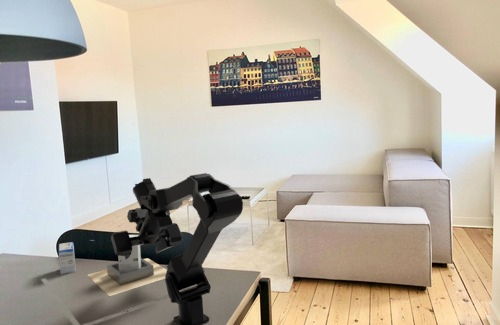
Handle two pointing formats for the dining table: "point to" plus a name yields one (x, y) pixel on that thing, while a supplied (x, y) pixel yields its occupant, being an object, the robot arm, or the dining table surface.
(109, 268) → the sleeve
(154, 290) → the dining table surface
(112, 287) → the board
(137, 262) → the skincare box
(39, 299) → the dining table surface
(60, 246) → the medicine box
